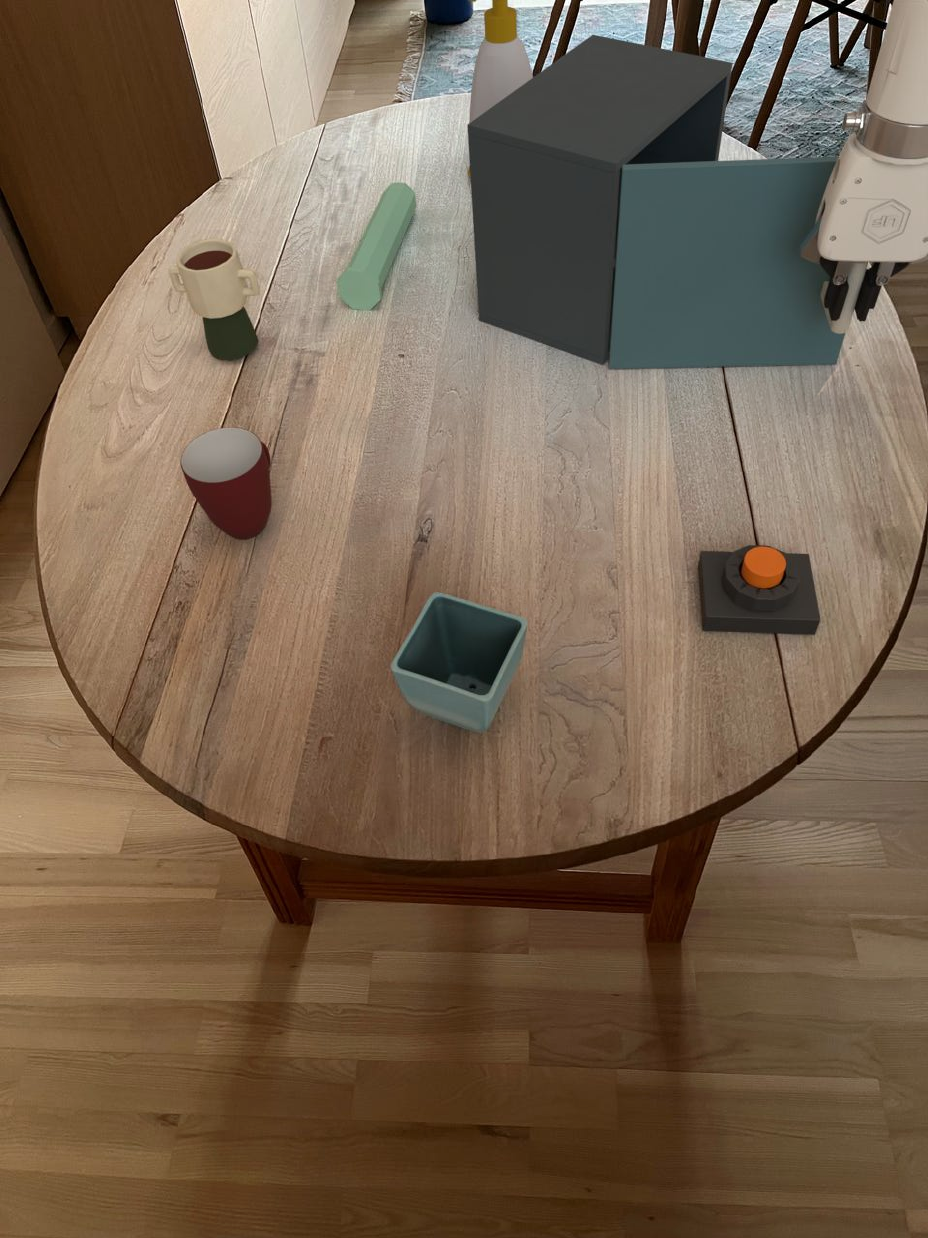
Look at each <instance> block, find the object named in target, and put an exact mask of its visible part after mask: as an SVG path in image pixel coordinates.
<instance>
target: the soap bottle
mask: <svg viewBox="0 0 928 1238" xmlns="http://www.w3.org/2000/svg"><path fill="white" fill-rule="evenodd" d="M468 1H469V2H473V3H476V2H477V0H468ZM491 2H492V3H491V4H492V5H491V6H492V7H490V8H488V9H486V10H484V13H483V16H484V17H483V20H484V38H483V40H482V41H481V43H480V45H479V48H478V51H477V55H476V59H475V63H474V68H473V74H472V79H471V81H472V82H471V90H470V99H469V100H470V102H469V118H468V119H469V120H468V124H469V123H471V122H472V121H473V120H475V119H476V118H477V117H479V116H480V115H482V114H483V113H484V112H486V111H487V110H489V109H490V108H491V107H493V106H494V105H496V104H497V103H498V102H500V101H501V100H503V99H504V98H505V97H507V96H508V95H510V94H511V93H512V92H514V91H515V90H516V89H518V88H519V87H521V86H522V85H523V84H525V83H526V82H528V81H529V80H530V79H532V78H533V77H534V76H533V70H532V67H531V63H530V59H529V55H528V53H527V49H526V48H525V44H524V42H522V40H521V38H520V37H519V36H518V20H517V19H518V18H517V9H516V8H515V7H512V6H509V4H508V0H491ZM467 175H468V177H469V179H470V180H471V178H470V165H469V166H468V170H467Z"/></svg>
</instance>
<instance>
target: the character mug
mask: <svg viewBox="0 0 928 1238" xmlns="http://www.w3.org/2000/svg"><path fill="white" fill-rule="evenodd" d="M175 262H176V265H172V266H168V275H169V278H170V281H171V284H172V287H173V289H174V291H175V292H178V293H186V296H187V299H188V303H189V305H190V307H191V309H192V310H193V312H194V313H195V314H196V315H198V316H199V317H201V318H202V324H203V329H204V330H203V331H204V336H205V340H206V341H205V342H206V347H207V350H208V351H209V353H210V355H211V357H213V358H215V359H217V360H218V361H222V362H232V361H236V360H239V359H243V358H244V357H246V356H247V355H249V354H250V353H252V352H253V351H254V350H255V349H256V347H258V344H259V341H260V340H259V337H258V335H257V332H256V329H255V326H254V325H253V322H252V320H251V318H250V315H249V314H248V311H247V309H246V308H245V305H246V304H247V300H248V297H257V296H260V295H261V289H260V285H259V281H258V277H257V274H256V272H255V270H253V269H244V267H243V265H242V262H241V258H240V254H239V253H238V250H237V248H236V246H235V244H234V243H232V242H231V241H229V240H228V239H223V238H217V237H216V238H212V237H211V238H205V239H201V240H198V241H194V242H192V243H190V244H188V245H187V246H184V247H183V248H182V249H181V250H180V251H179V252H178V253H177V255H176V258H175ZM180 278H181V280H180ZM247 279H248V282H249V286H248V282H247Z"/></svg>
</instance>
